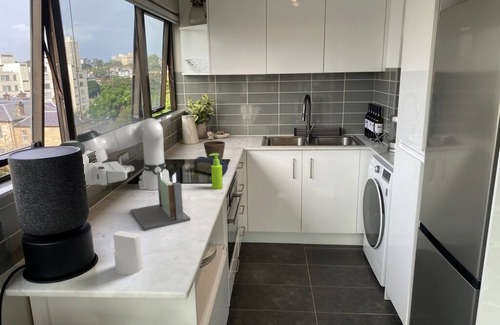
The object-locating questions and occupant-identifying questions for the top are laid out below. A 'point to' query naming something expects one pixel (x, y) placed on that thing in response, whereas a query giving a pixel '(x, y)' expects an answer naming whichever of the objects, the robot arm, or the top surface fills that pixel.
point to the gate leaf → (167, 196)
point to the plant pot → (214, 148)
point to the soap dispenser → (216, 173)
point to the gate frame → (161, 210)
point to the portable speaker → (208, 165)
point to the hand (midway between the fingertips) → (133, 168)
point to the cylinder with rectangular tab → (128, 253)
